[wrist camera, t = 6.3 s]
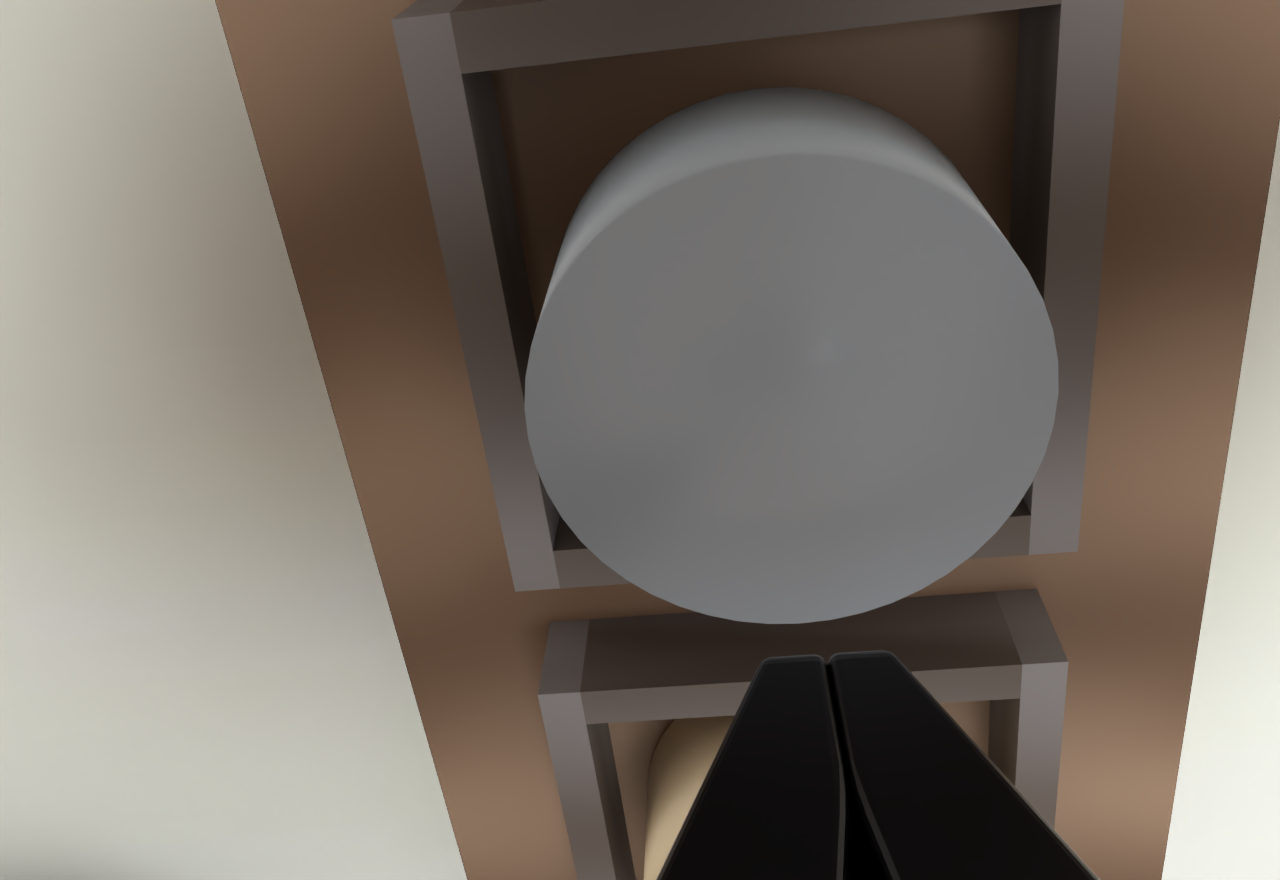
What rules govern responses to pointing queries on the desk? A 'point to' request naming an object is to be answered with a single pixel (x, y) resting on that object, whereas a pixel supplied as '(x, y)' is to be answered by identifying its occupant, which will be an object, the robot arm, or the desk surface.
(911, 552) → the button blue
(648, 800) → the button sand
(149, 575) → the desk surface
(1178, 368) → the button panel
